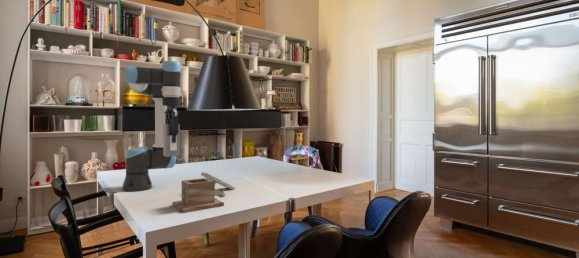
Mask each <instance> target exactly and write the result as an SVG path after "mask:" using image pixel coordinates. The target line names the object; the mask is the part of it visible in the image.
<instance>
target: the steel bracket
mask: <svg viewBox="0 0 579 258" xmlns="http://www.w3.org/2000/svg"><path fill="white" fill-rule="evenodd" d="M180 126H181V124H179V123H178V134H177V150H172V151H170V136H169V134H171V132H170V124H163V156H165V157H169V156H176V157H179V156H181V131H180V130H181V127H180Z"/></svg>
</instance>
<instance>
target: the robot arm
mask: <svg viewBox="0 0 579 258" xmlns="http://www.w3.org/2000/svg"><path fill="white" fill-rule="evenodd" d="M161 65H162V66H161V67H143V66H135V65H133V66H130V65H129V66H128V65H127V66H125V68H124V82H125V83H127V84H128V88H129V89H130V90H131V91H133V92H135V93H137V94H141V95H145V96H151V99H152V100H153V101H154V126H155V127H154V128H155V130H154V135H155V136H154V139H155V141H154V144H152V146H151V148H149V147H148V146H140V147H139V146H138V147H132V148H129V149H127V150H126V152H125V178H124V180H123V183H122V191H125V192H140V191H141V192H142V191H145V190H150V189H152V188H153V183H152V180H151V177H150V174H149V170H160V169H162V170H163V169H165V170H166V169H171V168H173V167H175V165H176V161H177V156H169V157H165V156H163V124H170V132H171V134H169V136H170V151H172V150H177V134H178V124H179V115H180V114H179V113H180V111H179V110H178V108H177V107H179V106H181V103H182V102H181V96H182V95H181V92H182V91H181V90H182V89H181V87H182V86H181V72H182V71H181V70H182V69H181V64H180V62H179V61H176V60H164V61H162V63H161Z"/></svg>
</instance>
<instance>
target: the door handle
mask: <svg viewBox="0 0 579 258" xmlns="http://www.w3.org/2000/svg"><path fill="white" fill-rule="evenodd" d="M200 175H201V176H202V177H203V178H208V179H210V180H213V181H215V185H216V184H218V185H220V186H223V187H225V188H226V189H230V190H233V191H234V190H236V186H233V185H231V184H230V183H227V181H226V182H225V181H224V180H222V179H219V178H218V177H215V176H214V175H212V174H209V173H208V172H203V171H202V172H201V173H200ZM215 195H218V196H221V197H224V198H225V197H226V195H227V192H226V191H222V190H219V189H216V188H215Z"/></svg>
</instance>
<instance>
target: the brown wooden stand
mask: <svg viewBox="0 0 579 258" xmlns="http://www.w3.org/2000/svg"><path fill="white" fill-rule="evenodd" d="M215 187H216V184H215V181H213V180H210V179H208V178H206V177H202V178H193V179H183V180H181V200H175V201H172V207H174V208H176V209H177V210H179V212H181V213H183V214H185V213H191V212H196V211H201V210H208V209H214V208H220V207H225V202H223V201H222V200H219V199H218V198H216V194H215V189H216V188H215Z"/></svg>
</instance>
